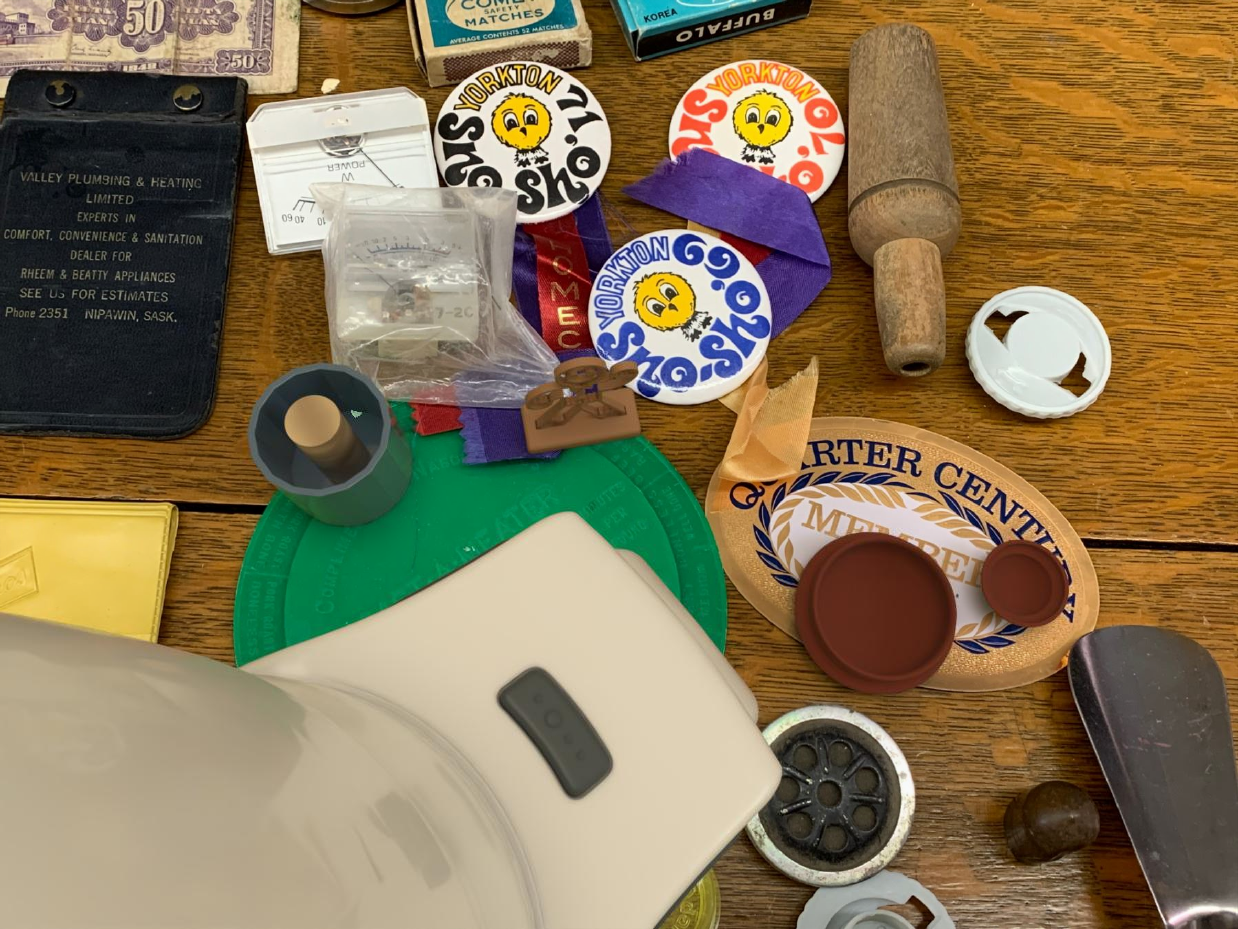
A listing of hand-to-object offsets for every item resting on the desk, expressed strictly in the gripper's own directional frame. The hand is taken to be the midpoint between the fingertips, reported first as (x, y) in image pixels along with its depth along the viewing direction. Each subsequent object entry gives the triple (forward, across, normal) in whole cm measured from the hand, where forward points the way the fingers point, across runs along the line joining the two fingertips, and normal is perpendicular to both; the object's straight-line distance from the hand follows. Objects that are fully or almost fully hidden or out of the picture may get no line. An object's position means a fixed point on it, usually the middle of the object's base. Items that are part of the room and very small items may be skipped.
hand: (416, 866), depth 29 cm
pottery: (+39, +32, -8) cm, 51 cm away
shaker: (+38, +5, +27) cm, 47 cm away
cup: (+39, +5, +27) cm, 48 cm away
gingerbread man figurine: (+39, +21, +19) cm, 48 cm away
